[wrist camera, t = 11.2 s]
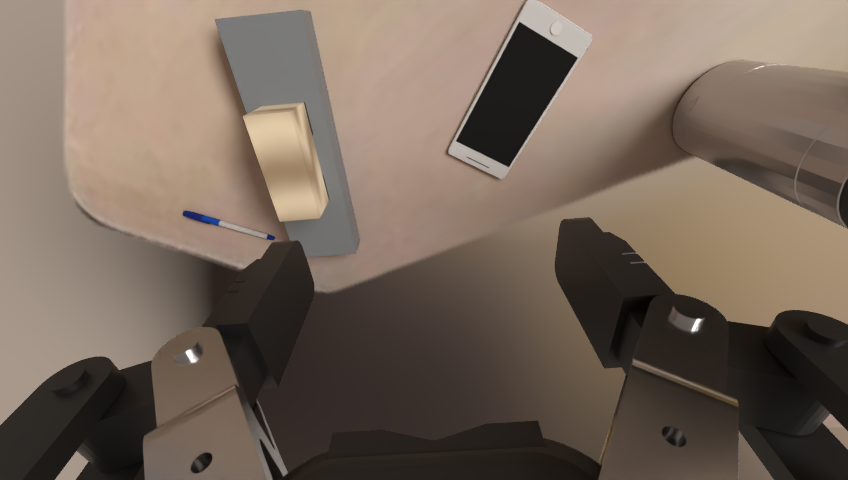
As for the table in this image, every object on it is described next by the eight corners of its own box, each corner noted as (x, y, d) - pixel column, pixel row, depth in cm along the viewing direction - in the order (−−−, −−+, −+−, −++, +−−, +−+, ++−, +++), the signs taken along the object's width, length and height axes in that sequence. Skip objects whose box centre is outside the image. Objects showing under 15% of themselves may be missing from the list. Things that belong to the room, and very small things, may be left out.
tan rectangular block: (273, 100, 35) (242, 116, 29) (312, 96, 35) (289, 111, 29) (300, 192, 40) (279, 221, 34) (334, 189, 40) (319, 218, 34)
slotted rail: (231, 19, 31) (214, 19, 29) (310, 11, 31) (300, 10, 29) (303, 244, 44) (295, 258, 41) (359, 240, 44) (356, 253, 41)
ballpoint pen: (185, 215, 42) (180, 219, 41) (185, 208, 41) (180, 212, 41) (275, 238, 44) (272, 243, 43) (275, 233, 43) (272, 237, 42)
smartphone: (591, 36, 33) (595, 36, 32) (501, 177, 40) (503, 180, 39) (527, -5, 31) (530, -5, 30) (446, 150, 38) (446, 153, 37)
